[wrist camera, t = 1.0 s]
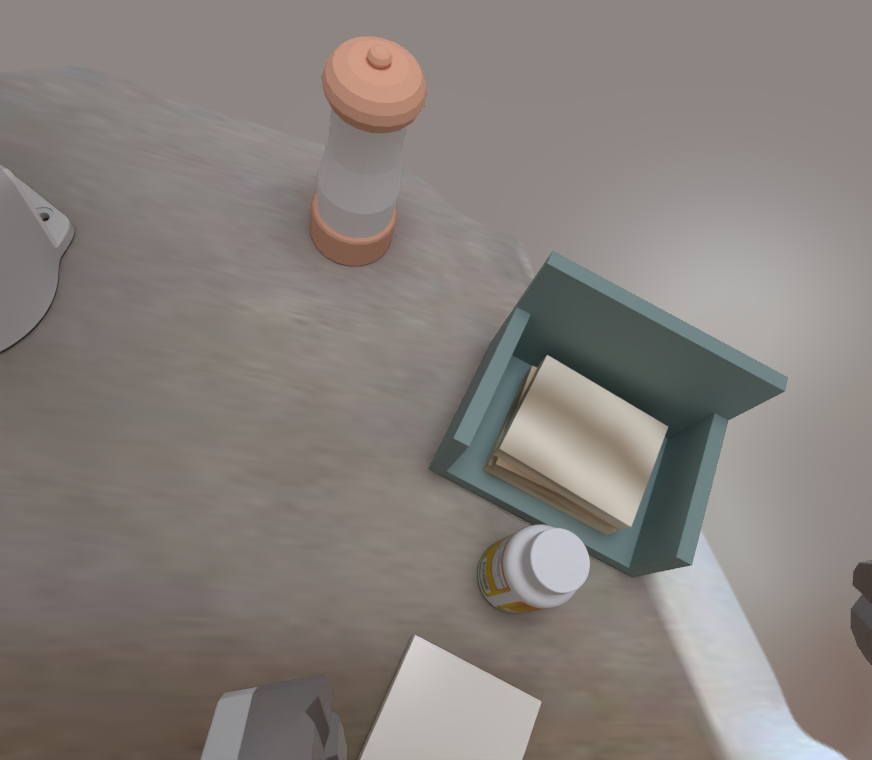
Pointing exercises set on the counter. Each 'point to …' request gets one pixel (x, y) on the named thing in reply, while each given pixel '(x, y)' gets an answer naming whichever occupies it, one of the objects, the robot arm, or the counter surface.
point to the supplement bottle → (533, 569)
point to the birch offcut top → (583, 443)
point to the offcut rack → (627, 379)
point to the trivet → (449, 712)
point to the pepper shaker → (364, 147)
